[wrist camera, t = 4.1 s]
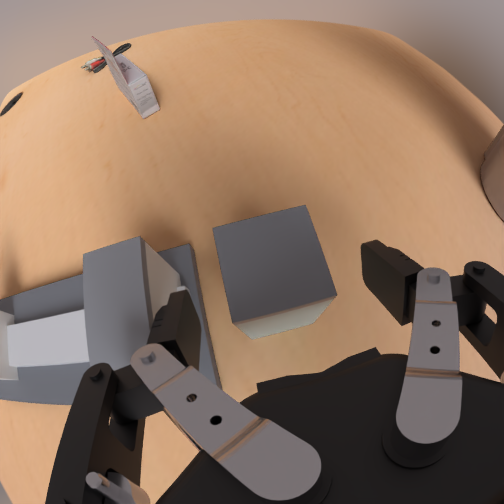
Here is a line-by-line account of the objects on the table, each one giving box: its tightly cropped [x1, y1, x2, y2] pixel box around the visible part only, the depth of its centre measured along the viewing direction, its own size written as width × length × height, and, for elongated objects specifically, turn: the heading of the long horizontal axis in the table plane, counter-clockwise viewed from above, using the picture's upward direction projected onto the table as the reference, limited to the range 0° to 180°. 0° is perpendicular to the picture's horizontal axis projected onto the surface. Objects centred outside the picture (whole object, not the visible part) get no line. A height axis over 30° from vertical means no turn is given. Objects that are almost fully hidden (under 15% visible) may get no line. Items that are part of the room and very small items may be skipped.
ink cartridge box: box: [92, 36, 160, 119], centre depth 24 cm, size 2×11×10 cm, turn 36°
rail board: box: [0, 236, 222, 405], centre depth 15 cm, size 23×10×7 cm, turn 103°
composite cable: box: [81, 43, 131, 73], centre depth 35 cm, size 10×5×2 cm, turn 131°
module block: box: [213, 205, 337, 340], centre depth 15 cm, size 4×4×8 cm
